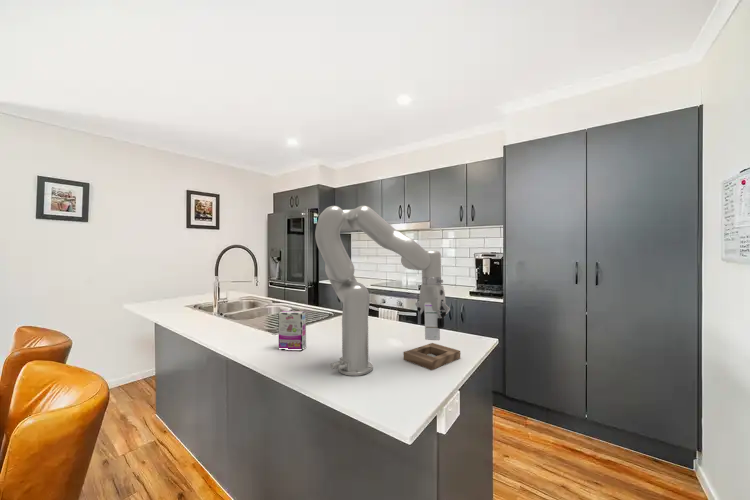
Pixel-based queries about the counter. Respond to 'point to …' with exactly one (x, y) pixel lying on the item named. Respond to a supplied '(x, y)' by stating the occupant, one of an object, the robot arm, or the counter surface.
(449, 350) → the square wooden frame
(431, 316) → the syrup box
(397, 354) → the counter surface
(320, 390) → the counter surface
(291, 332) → the candy bar box
